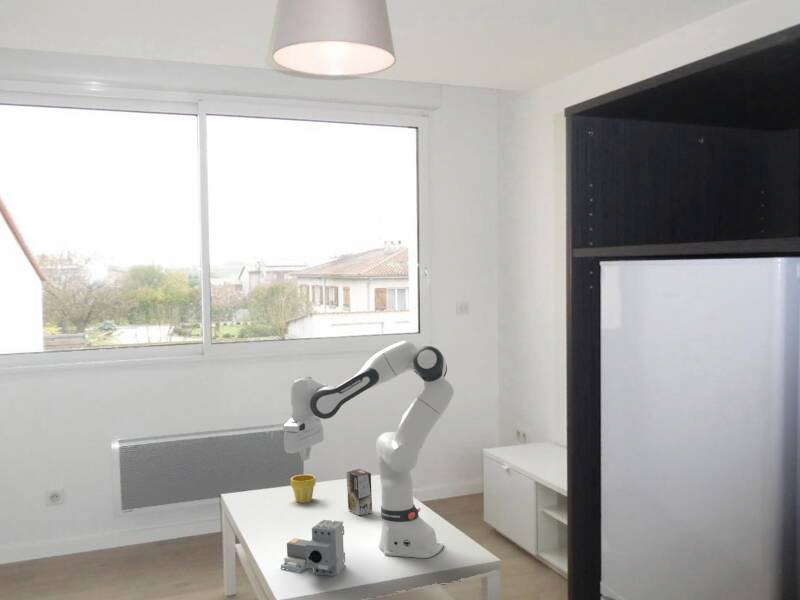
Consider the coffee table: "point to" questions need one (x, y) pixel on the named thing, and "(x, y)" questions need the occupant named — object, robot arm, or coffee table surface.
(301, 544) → the module
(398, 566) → the coffee table surface
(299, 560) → the panel
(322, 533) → the circuit breaker
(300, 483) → the plant pot
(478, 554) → the coffee table surface
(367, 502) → the coffee box
